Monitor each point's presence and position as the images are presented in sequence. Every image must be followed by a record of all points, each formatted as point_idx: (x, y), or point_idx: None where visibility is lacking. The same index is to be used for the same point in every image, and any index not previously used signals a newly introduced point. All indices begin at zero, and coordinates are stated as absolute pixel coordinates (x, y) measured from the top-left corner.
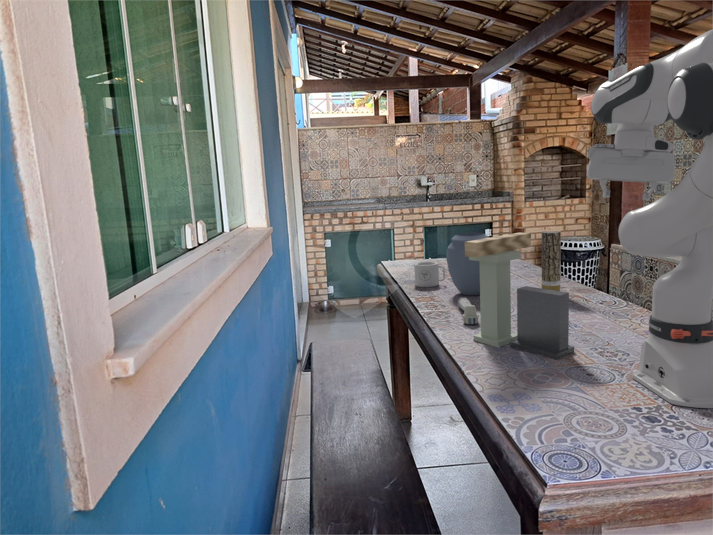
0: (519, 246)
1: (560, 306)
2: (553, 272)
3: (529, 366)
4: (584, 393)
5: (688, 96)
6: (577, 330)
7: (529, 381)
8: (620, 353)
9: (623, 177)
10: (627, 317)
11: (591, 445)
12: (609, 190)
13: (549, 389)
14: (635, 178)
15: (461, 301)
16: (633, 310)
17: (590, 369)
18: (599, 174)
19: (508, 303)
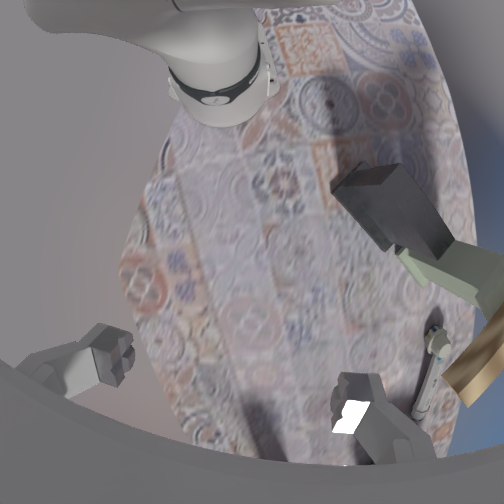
0: (476, 343)
1: (389, 165)
2: None
3: (397, 139)
4: (346, 53)
5: None
6: (296, 305)
7: (400, 92)
8: (264, 186)
9: (262, 469)
10: (197, 369)
11: None
12: (354, 401)
13: (381, 68)
14: (136, 437)
15: (431, 398)
16: (180, 399)
17: (324, 121)
18: (480, 470)
19: (440, 264)
